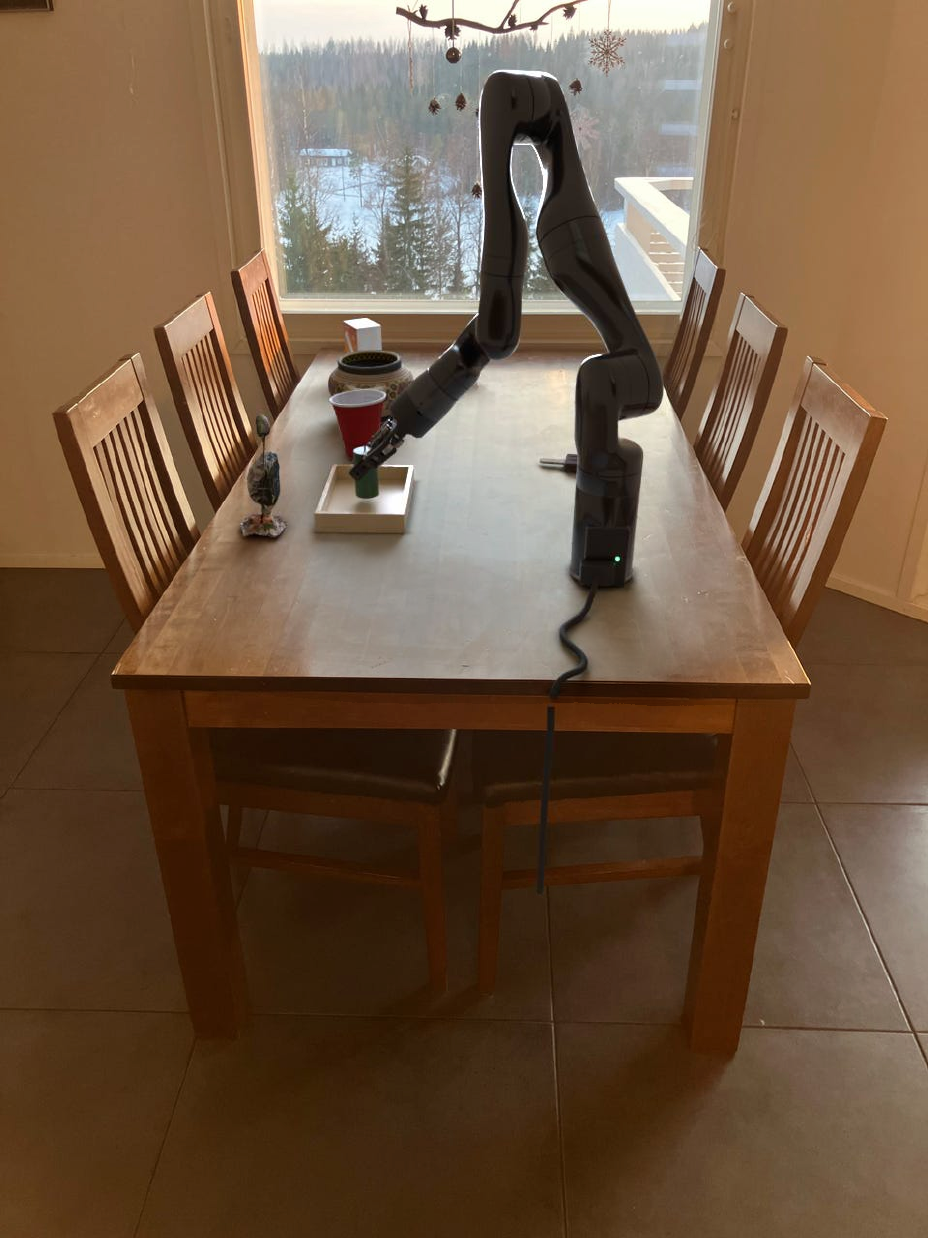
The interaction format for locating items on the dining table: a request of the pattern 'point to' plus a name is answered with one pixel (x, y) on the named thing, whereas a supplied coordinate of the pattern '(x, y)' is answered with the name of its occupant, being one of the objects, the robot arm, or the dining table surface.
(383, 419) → the ceramic bowl
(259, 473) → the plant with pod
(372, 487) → the green candle
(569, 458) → the ice cream bar
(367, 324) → the small box
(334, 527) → the wooden tray
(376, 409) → the plastic cup
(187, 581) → the dining table surface
